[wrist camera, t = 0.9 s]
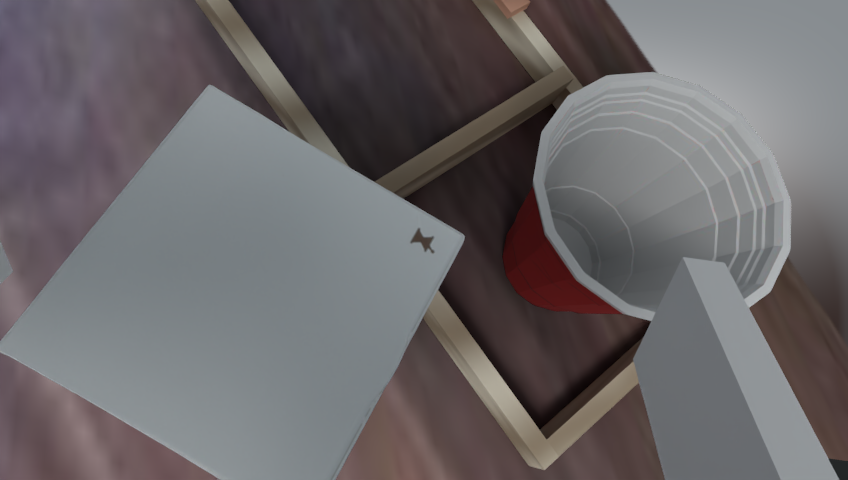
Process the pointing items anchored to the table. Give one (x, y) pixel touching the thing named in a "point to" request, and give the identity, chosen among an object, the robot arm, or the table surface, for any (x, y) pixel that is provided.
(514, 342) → the table surface
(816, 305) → the table surface
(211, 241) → the supplement box
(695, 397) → the robot arm
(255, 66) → the wooden frame
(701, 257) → the plastic cup
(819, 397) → the table surface
